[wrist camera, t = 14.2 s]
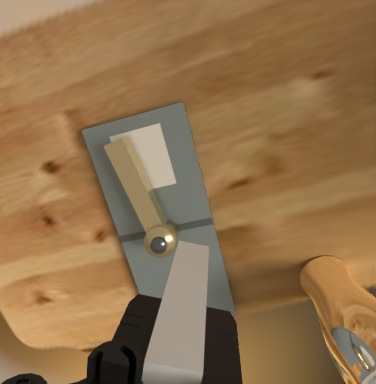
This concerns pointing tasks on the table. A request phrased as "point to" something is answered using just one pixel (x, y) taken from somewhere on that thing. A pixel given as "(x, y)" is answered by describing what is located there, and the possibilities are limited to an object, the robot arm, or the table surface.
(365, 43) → the table surface
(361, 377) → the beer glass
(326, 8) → the table surface
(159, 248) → the latch bar
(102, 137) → the door board
